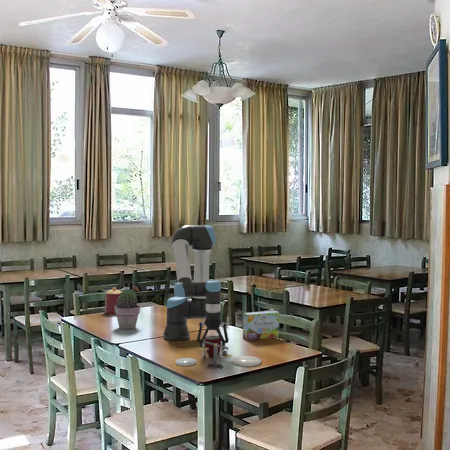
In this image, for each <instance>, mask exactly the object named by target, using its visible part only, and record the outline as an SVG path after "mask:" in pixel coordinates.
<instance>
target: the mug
mask: <svg viewBox="0 0 450 450" xmlns="http://www.w3.org/2000/svg"><path fill="white" fill-rule="evenodd" d="M204 340H205V341H208V342H212V343H217V344H218V345H221V343H222V342H221V338H220V337H219V335H206V337H205V339H204ZM205 347H208V348H209V350H206V353H207V355H208V357H209V358H211V359H214V345H211V344H207V343H205ZM220 354H221V347H218V351H217V358H219V355H220Z"/></svg>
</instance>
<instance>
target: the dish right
mask: <svg viewBox="0 0 450 450" xmlns="http://www.w3.org/2000/svg"><path fill="white" fill-rule="evenodd" d="M231 362H232V364H233V365H235V366H238V367H244V368H245V367H248V368H249V367H257V366H260V365H261V364H262V361H261V358H259V357H256V356H249V355H242V356H241V355H240V356H235V357H233V358H232V361H231ZM259 364H260V365H259Z"/></svg>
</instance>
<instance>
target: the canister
mask: <svg viewBox="0 0 450 450" xmlns="http://www.w3.org/2000/svg"><path fill="white" fill-rule="evenodd" d="M121 292H123V290H121V289H117V287H112V288H111V289H109V290H107V291H106V292H105V295H104V298H105V300H104V313H105V314H107V315H116V314H115V306H116V305H117V303H118V302H116V301H118V298H119V296H120V293H121ZM114 302H115V303H114Z"/></svg>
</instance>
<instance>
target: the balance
mask: <svg viewBox="0 0 450 450" xmlns="http://www.w3.org/2000/svg"><path fill="white" fill-rule="evenodd" d="M203 342H204V347H199V350H200V351H202V350H205V351H207V350H209V348H208V347H206V345H205V343H207V344H211V345H214V358H213V363H212V362H211V363H208V365H207V369H217V370H218V369H221V370H222V369H223V367H224V364H223V363H218V357H217V351H218V347H220V349H221V348H224V349H225V350H223V355H222V357H221V358H224V359H225V358H226V359H227V358H228V359H229V358H232V354H228V353H227V351H228V350H229V347H228V346H226V345H225V346H222V345H218V344H217V343H212V342H208V341H205V339H204V340H203Z"/></svg>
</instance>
